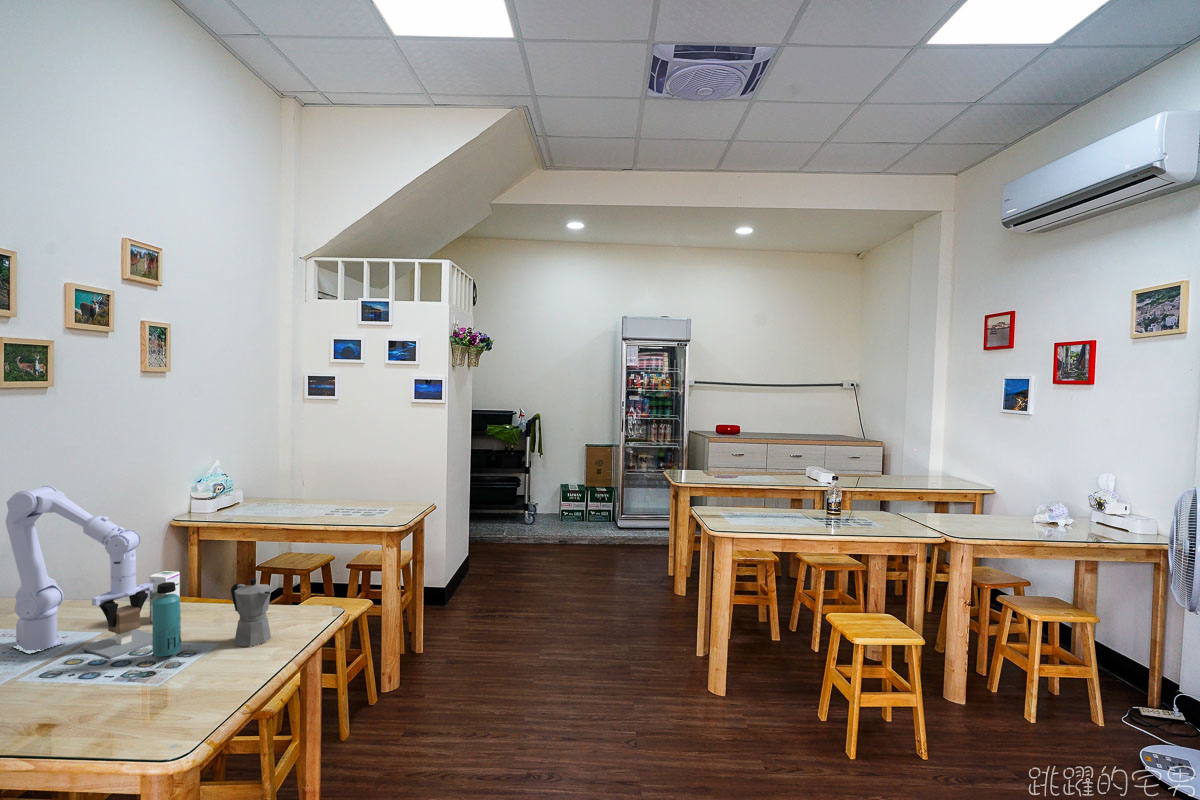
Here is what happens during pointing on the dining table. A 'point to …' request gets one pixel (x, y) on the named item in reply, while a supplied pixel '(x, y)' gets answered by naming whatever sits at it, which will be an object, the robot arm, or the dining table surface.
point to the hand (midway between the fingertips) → (123, 622)
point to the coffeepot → (251, 613)
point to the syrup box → (162, 578)
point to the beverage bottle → (166, 621)
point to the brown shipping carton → (126, 619)
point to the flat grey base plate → (120, 643)
